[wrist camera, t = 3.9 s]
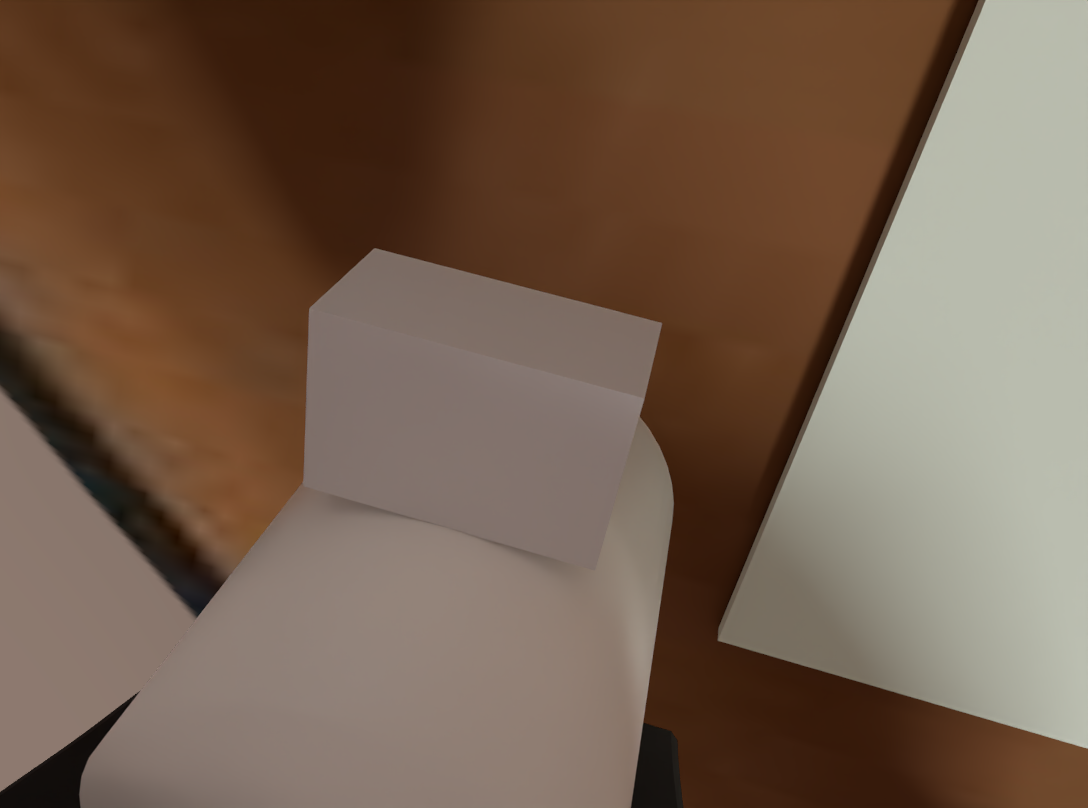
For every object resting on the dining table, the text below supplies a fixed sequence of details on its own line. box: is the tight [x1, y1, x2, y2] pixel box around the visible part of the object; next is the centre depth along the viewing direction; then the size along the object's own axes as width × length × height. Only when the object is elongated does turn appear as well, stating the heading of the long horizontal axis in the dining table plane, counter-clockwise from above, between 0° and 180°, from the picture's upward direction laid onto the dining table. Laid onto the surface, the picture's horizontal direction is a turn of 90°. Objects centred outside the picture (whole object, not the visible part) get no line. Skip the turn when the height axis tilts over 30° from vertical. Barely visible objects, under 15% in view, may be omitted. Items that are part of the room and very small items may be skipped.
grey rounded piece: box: [79, 248, 674, 808], centre depth 9 cm, size 11×4×5 cm, turn 170°
